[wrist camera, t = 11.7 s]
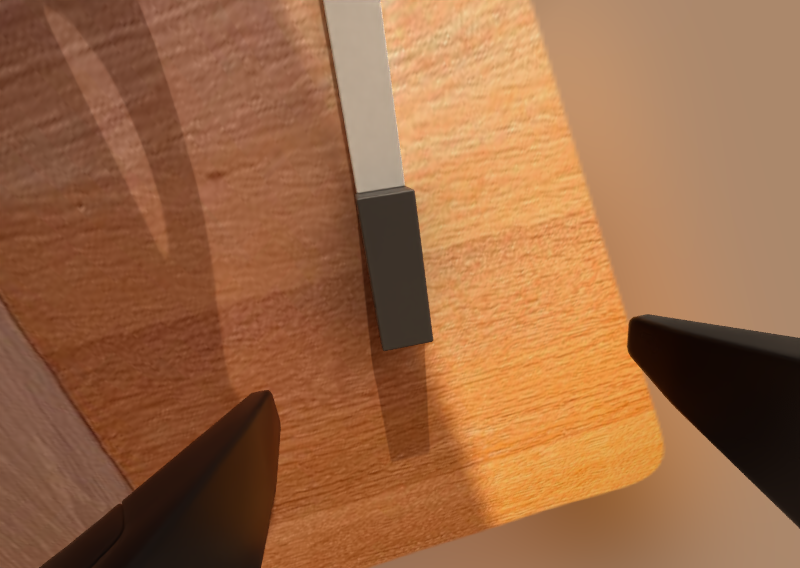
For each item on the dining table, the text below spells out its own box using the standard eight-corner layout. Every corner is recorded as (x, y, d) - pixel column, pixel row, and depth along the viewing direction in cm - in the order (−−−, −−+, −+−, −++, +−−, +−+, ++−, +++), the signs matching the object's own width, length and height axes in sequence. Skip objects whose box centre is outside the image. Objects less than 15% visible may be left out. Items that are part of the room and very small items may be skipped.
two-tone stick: (423, 321, 20) (433, 342, 17) (378, 329, 20) (383, 352, 17) (369, -86, 14) (374, -133, 12) (305, -80, 14) (298, -126, 12)
